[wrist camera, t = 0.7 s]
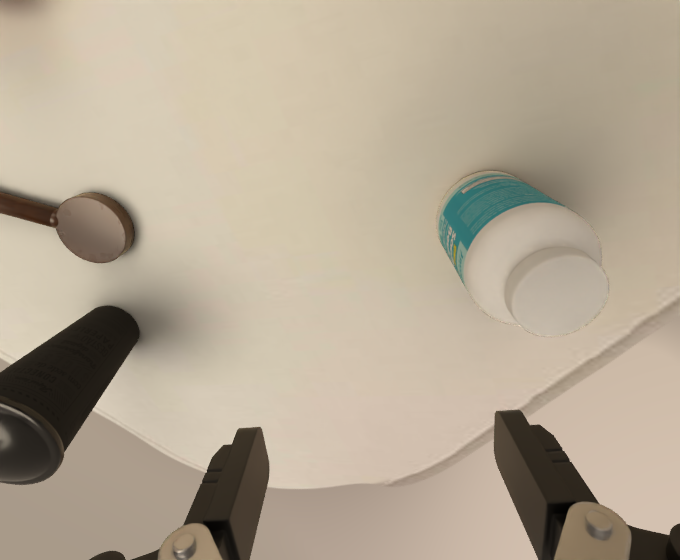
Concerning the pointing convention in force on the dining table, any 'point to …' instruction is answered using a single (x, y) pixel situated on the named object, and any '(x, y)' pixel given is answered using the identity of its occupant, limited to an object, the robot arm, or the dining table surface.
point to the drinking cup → (58, 392)
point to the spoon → (80, 223)
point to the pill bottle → (522, 254)
